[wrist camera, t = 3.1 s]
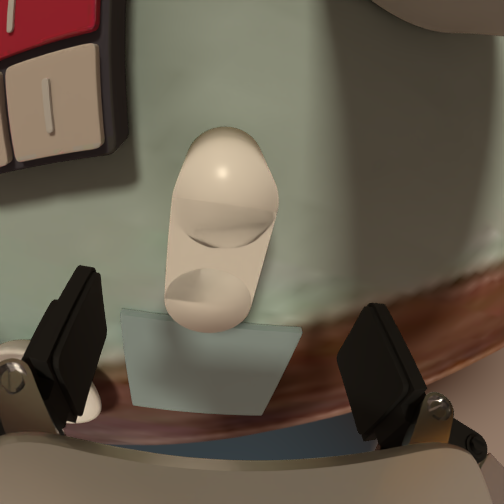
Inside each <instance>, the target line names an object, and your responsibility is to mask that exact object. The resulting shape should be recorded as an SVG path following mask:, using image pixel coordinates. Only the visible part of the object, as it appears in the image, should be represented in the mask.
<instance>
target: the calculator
mask: <svg viewBox="0 0 504 504" xmlns="http://www.w3.org/2000/svg"><path fill="white" fill-rule="evenodd" d="M125 13H126V0H0V174H1V173H6V172H10V171H15V170H19V169H24V168H29V167H34V166H40V165H45V164H51V163H57V162H63V161H69V160H75V159H82V158H89V157H97V156H104V155H109V154H112V153H113V152H114V151H115V150H116V149H117V148H118V147H119V146H120V145H121V144H122V143H123V142H124V141H125V140H126V139H127V138H128V135H129V129H128V115H127V98H126V74H125Z"/></svg>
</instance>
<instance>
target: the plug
mask: <svg viewBox="0 0 504 504" xmlns="http://www.w3.org/2000/svg"><path fill="white" fill-rule="evenodd" d="M278 205H279V196H278V190H277V186H276V184H275V181H274V179H273V177H272V174H271V172H270V170H269V168H268V165H267V163H266V161H265V159H264V156H263V154H262V152H261V149H260V147H259V146H258V144H257V142H256V141H255V140H254V139H253V138H252V137H251V136H250V135H249V134H247V133H246V132H244V131H242V130H240V129H237V128H233V127H217V128H213V129H210V130H208V131H206V132H204V133H202V134H201V135H200V136H198V137H197V138H196V139H195V140H194V141H193V143H192V144H191V146H190V148H189V150H188V152H187V155H186V158H185V160H184V163H183V165H182V168H181V171H180V173H179V176H178V179H177V182H176V184H175V187H174V190H173V196H172V204H171V214H170V225H169V236H168V249H167V263H166V279H165V306H166V309H167V311H168V313H169V315H170V316H171V317H172V319H174V320H175V321H176V322H177V323H178V324H180V325H181V326H183V327H185V328H187V329H189V330H192V331H196V332H202V333H217V332H222V331H226V330H229V329H231V328H233V327H235V326H237V325H238V324H239V323H241V322H242V321H243V320H244V319H245V318H246V316H247V315H248V313H249V311H250V308H251V305H252V301H253V298H254V294H255V291H256V287H257V283H258V280H259V276H260V273H261V269H262V266H263V262H264V258H265V255H266V251H267V248H268V244H269V240H270V237H271V233H272V229H273V226H274V222H275V219H276V215H277V211H278Z"/></svg>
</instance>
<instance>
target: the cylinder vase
mask: <svg viewBox="0 0 504 504" xmlns="http://www.w3.org/2000/svg"><path fill="white" fill-rule="evenodd" d="M372 1H373V2H374V3H376V4H377V5H378V6H380V7H381V8H383V9H385V10H386V11H388V12H389V13H391V14H393V15H395V16H396V17H398V18H400V19H402V20H404V21H406V22H408V23H411V24H413V25H416V26H418V27H421V28H424V29H428V30H432V31H437V32H443V33H467V34H484V35H496V36H504V0H372Z"/></svg>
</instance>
